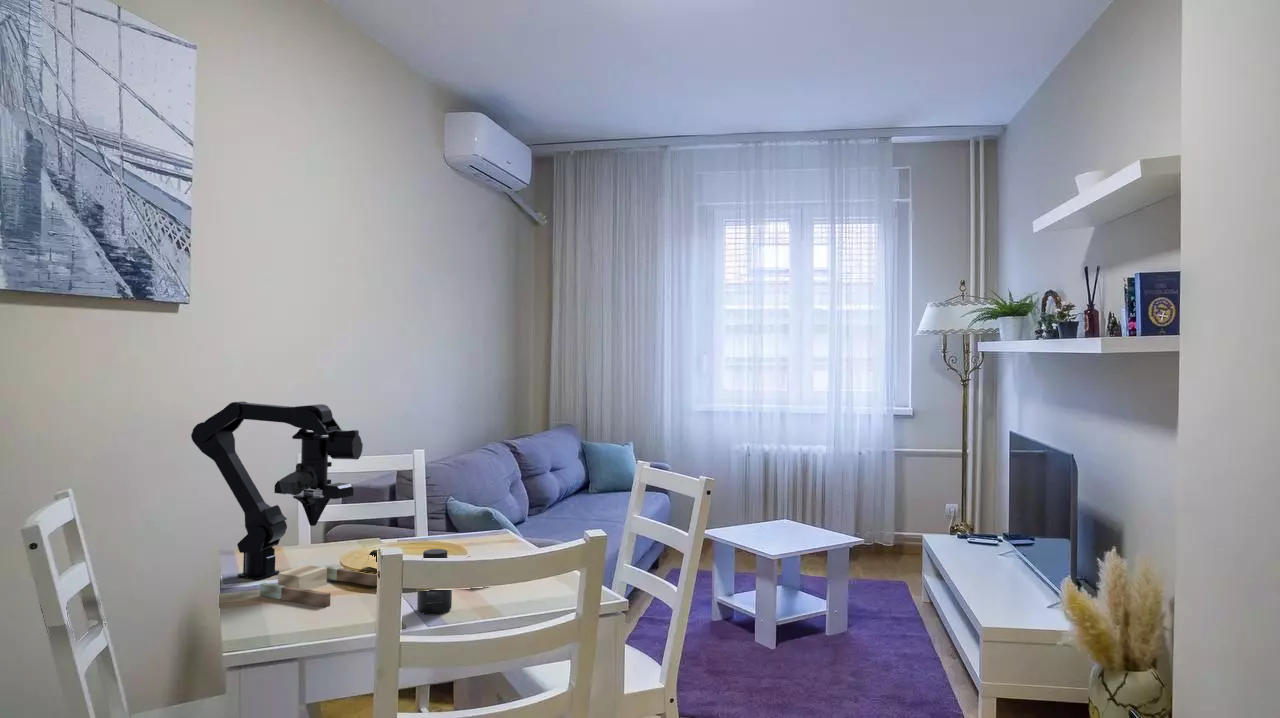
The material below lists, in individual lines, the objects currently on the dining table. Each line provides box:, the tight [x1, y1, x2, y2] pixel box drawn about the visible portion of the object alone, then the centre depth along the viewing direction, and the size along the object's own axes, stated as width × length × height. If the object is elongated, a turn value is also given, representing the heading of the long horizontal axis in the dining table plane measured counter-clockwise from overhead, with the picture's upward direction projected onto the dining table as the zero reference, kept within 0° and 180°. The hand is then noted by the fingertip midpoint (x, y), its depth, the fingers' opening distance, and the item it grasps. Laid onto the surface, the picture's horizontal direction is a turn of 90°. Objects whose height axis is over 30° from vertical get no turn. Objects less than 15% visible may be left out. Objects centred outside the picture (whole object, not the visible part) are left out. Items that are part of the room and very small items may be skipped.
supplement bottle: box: [416, 548, 453, 615], centre depth 156 cm, size 7×7×12 cm
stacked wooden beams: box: [259, 565, 377, 608], centre depth 168 cm, size 18×17×2 cm
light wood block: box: [277, 564, 328, 590], centre depth 170 cm, size 6×8×4 cm
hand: (312, 525), depth 178 cm, fingers closed
